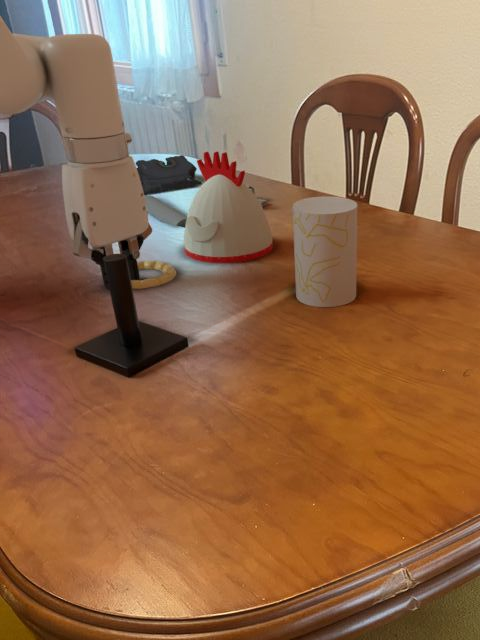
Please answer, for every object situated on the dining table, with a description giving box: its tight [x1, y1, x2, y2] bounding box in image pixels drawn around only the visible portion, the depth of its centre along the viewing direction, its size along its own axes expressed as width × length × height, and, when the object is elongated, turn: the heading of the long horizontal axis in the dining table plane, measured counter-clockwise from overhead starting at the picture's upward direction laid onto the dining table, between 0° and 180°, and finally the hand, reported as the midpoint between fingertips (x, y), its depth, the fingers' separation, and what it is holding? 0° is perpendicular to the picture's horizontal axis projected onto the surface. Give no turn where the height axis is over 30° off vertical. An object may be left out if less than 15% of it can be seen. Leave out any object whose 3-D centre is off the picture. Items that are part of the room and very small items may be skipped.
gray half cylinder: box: [144, 194, 187, 228], centre depth 122 cm, size 4×20×2 cm, turn 32°
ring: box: [131, 260, 177, 290], centre depth 94 cm, size 9×9×2 cm
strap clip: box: [246, 185, 268, 208], centre depth 124 cm, size 8×3×4 cm, turn 149°
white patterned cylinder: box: [292, 195, 358, 308], centre depth 86 cm, size 8×8×12 cm
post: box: [73, 253, 189, 378], centre depth 73 cm, size 9×9×11 cm
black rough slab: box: [135, 154, 202, 196], centre depth 141 cm, size 15×22×5 cm
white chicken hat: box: [183, 151, 274, 264], centre depth 100 cm, size 14×14×15 cm
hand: (123, 288), depth 92 cm, fingers closed on ring, 2 cm apart
